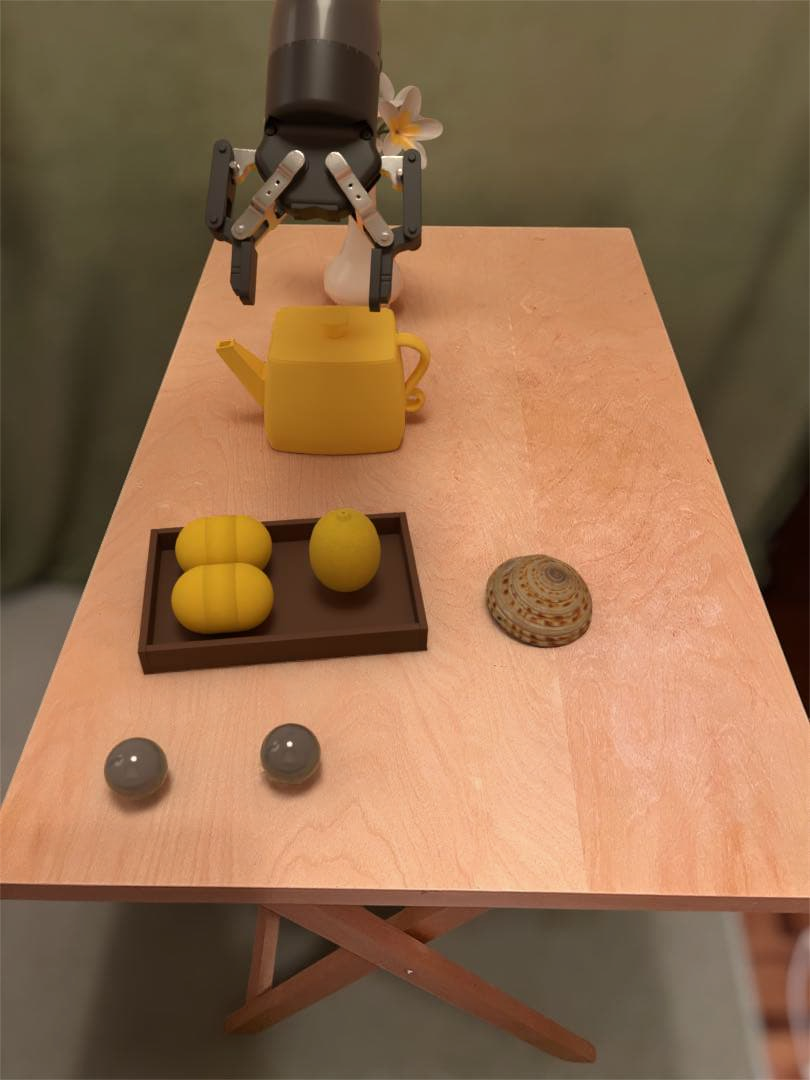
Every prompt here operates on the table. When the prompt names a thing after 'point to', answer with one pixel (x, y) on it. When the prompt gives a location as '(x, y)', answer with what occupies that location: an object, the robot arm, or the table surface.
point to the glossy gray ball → (135, 768)
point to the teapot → (332, 379)
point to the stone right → (290, 753)
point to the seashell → (539, 600)
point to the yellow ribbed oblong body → (222, 598)
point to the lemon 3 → (344, 550)
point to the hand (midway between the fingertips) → (310, 305)
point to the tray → (291, 606)
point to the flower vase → (353, 262)
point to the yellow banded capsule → (223, 542)
